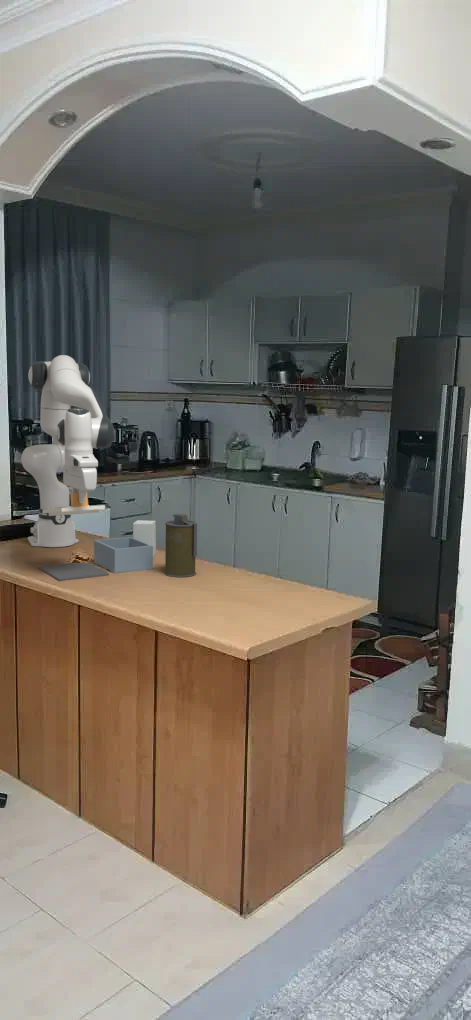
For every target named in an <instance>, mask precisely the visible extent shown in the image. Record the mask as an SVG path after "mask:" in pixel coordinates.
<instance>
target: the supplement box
mask: <svg viewBox="0 0 471 1020" xmlns="http://www.w3.org/2000/svg"><path fill="white" fill-rule="evenodd" d="M156 523H157V521H156V520H147V519H146V520H140V519H137V520H136V521H134V522H133V523H132V538H135V539H137V540H140V541H142V542H145V543H147V544H150V545H152V546H153V557H155V555H156V553H157V535H156V534H157V528H156V527H157V526H156V525H157V524H156Z"/></svg>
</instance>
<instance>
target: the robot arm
mask: <svg viewBox="0 0 471 1020" xmlns="http://www.w3.org/2000/svg"><path fill="white" fill-rule="evenodd" d="M27 377H28V381H29V384H30V386H31V388H32V389H33V390H38V391H41V397H40V417H39V418H40V421H39V422H40V423H39V425H40V428H41V430H42V431H43V432H44V433H45V434H47V435H49V436H51V438H52V443H50V444H35V445H31V446H27V447H26V448H24V450H23V451H22V454H21V457H20V459H21V465H22V467H23V469H24V470H25V471H26V472H28V473H29V474H30V475H31V476H32V477H33V479H34V480H35V481H36V484H37V486H38V491H39V502H40V503H39V504H40V508H39V511H38V519H37V520H36V522H35V523H34V524H33V527H30V530H29V531H30V533H31V534H33V535H31V536H28V537H27V541H28V542H29V544H30V546H32V547H45V548H62V547H69V546H73V545H75V544H77V543H79V542H80V541H79V539H78V538H76V528H75V522H74V521H73V520H72V519H71V517H72V514H70V515H55V516H49V513H43V510H46V509H48V508H51V507H67V506H70V489H69V487H70V488H71V491H72V493H79V497H78V502H79V503H85V496H86V492H87V493H88V492H95V491H96V489H97V483H98V472H97V468H98V466H99V461H98V459H97V458H96V457H95V455H94V454H93V453H94V451H93V450H94V449H93V448H96V449H107V448H108V447H109V446H110V445H112V444H113V442H114V439H115V428H114V424H113V423H112V421H111V420H110V418H109V417H108V415H107V413H106V411H105V408H104V407H103V404H102V403H101V400H100V399H99V396H98V395H97V392H96V391H95V389H93V388H92V387H90V386H89V384H90V382H91V373H90V371H89V368H88V366H87V365H86V364H84V363H81V362H76V360H75V359H74V358H73V357H71V356H69V355H65V354H60V355H58V356H55V357H54V358H53V359H51V361H42V360H38V361H34V362H33V363H32V364H30V367H29V370H28V376H27ZM71 407H72V408H71ZM57 473H62V474H63V478H62V480H63V482H61V481H59V479H58V478H57V477H58V476H57Z"/></svg>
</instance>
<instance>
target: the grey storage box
mask: <svg viewBox="0 0 471 1020" xmlns="http://www.w3.org/2000/svg"><path fill="white" fill-rule="evenodd" d="M93 561H94V562H93V563H95V564H97V565H98V566H100V567H103V568H104V569H106V570H107V571H110V572H113V573H114V574H117V573H118V574H119V573H127V572H135V571H137V572H138V571H144V570H153V568H154V565H153V564H154V556H153V546H152V545H150V544H147V543H145V542H142V541H140V540H137V539H135V538H133V536H132V537H131V536H127V537H125V536H124V537H115V538H103V539H101V538H100V539H94V540H93Z"/></svg>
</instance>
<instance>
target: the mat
mask: <svg viewBox="0 0 471 1020" xmlns="http://www.w3.org/2000/svg"><path fill="white" fill-rule="evenodd" d="M38 569H39V570H41V571H42V572H44V573H46V574H47V575H49V576H51V578H54V580H57V581H58V582H62V581H71V580H79V579H88V578H96V577H97V578H98V577H104V576H110V573H109V572H106V570H103V569H101V568H99V567H98V566H95V565H94V564H92V563H90V562H88V563H77V562H69V563H58V564H50V565H41V566H38Z"/></svg>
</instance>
